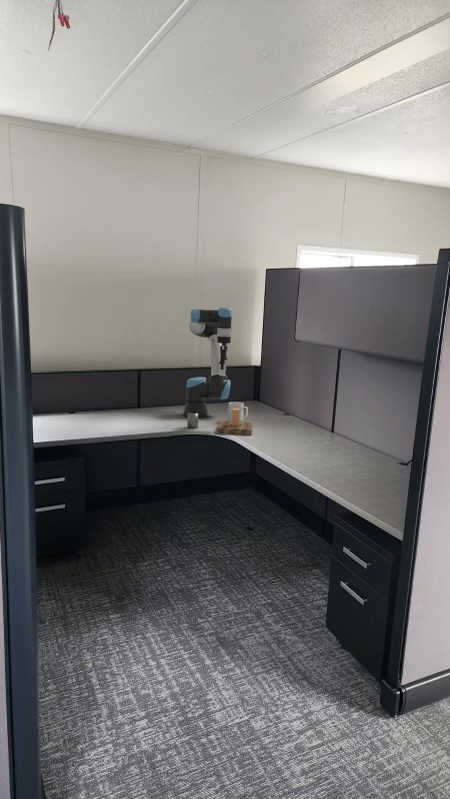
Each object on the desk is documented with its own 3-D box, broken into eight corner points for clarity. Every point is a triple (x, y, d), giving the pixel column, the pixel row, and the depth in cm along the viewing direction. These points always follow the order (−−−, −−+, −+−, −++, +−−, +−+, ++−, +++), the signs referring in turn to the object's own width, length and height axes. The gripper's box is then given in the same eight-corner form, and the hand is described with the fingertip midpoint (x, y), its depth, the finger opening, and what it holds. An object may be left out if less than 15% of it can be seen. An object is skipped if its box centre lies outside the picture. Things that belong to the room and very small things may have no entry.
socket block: (217, 433, 289) (217, 428, 289) (220, 426, 307) (220, 420, 307) (251, 435, 288) (251, 429, 288) (252, 427, 306) (252, 422, 305)
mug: (225, 422, 318) (225, 403, 316) (232, 419, 325) (233, 401, 323) (243, 425, 312) (244, 406, 310) (250, 422, 319) (251, 403, 317)
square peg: (231, 431, 296) (232, 409, 294) (232, 429, 300) (233, 408, 298) (238, 431, 296) (239, 410, 293) (239, 429, 299) (240, 408, 297)
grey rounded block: (185, 427, 301) (185, 413, 300) (193, 426, 305) (193, 412, 304) (191, 429, 297) (191, 415, 295) (200, 428, 301) (200, 414, 299)
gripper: (229, 338, 289) (228, 377, 294) (231, 333, 313) (230, 370, 318) (215, 337, 289) (214, 376, 294) (218, 333, 314) (217, 369, 318)
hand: (222, 373), depth 306 cm, fingers open, 13 cm apart
